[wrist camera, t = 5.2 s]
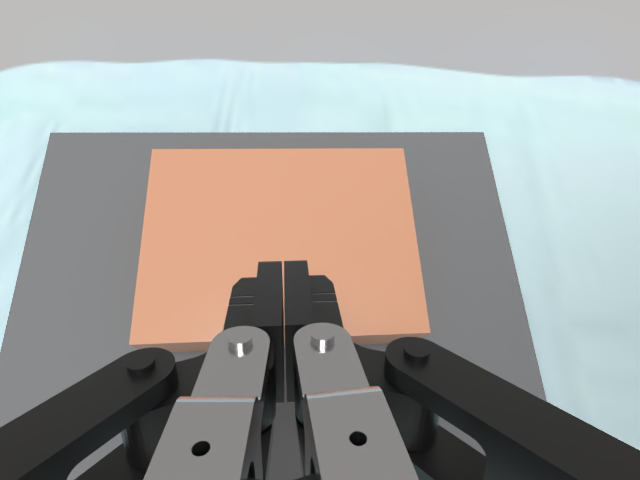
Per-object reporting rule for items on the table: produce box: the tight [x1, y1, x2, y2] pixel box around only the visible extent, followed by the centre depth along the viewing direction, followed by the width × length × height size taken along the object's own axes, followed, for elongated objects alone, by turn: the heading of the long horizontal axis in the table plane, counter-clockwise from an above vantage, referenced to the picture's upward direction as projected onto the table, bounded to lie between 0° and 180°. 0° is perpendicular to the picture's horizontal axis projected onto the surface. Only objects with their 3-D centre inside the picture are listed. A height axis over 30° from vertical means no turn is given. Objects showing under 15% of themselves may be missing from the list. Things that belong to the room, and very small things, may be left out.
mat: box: [0, 132, 547, 480], centre depth 20 cm, size 24×18×1 cm
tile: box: [129, 148, 430, 352], centre depth 20 cm, size 12×2×9 cm
